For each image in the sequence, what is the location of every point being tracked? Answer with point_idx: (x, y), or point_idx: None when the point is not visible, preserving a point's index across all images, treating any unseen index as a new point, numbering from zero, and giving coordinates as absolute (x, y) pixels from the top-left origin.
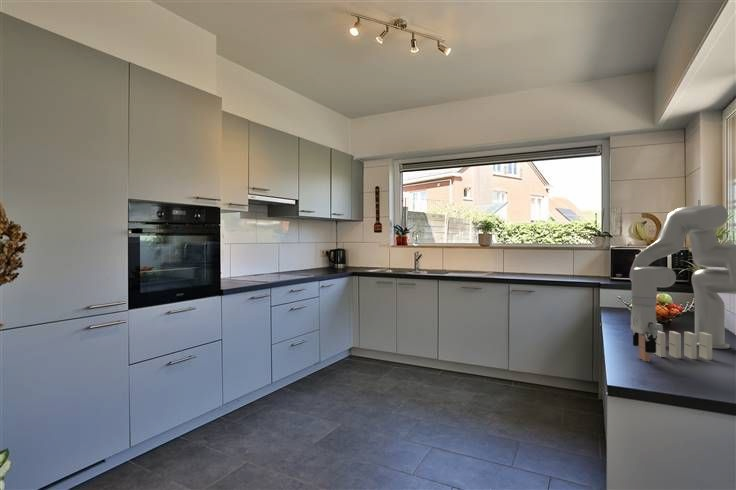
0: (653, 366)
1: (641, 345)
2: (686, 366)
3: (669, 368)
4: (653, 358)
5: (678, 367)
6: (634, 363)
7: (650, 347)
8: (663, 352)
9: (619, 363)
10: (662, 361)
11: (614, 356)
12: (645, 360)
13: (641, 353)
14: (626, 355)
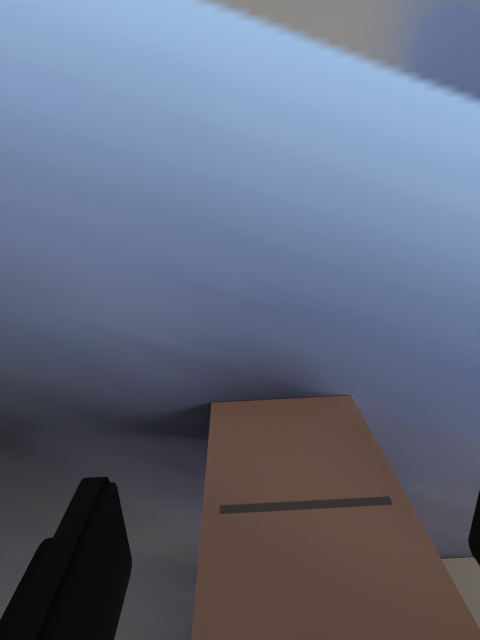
0: (34, 414)
1: (315, 527)
2: (143, 620)
3: (20, 508)
4: None
5: None
6: (86, 274)
7: (28, 587)
8: None
9: (6, 76)
10: None
11: (386, 140)
12: (212, 414)
13: (295, 440)
14: (449, 309)
